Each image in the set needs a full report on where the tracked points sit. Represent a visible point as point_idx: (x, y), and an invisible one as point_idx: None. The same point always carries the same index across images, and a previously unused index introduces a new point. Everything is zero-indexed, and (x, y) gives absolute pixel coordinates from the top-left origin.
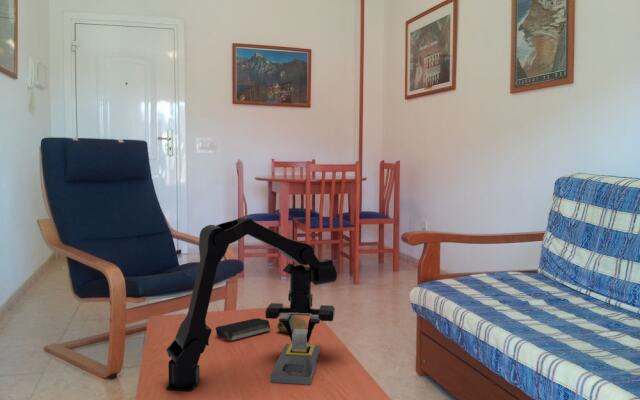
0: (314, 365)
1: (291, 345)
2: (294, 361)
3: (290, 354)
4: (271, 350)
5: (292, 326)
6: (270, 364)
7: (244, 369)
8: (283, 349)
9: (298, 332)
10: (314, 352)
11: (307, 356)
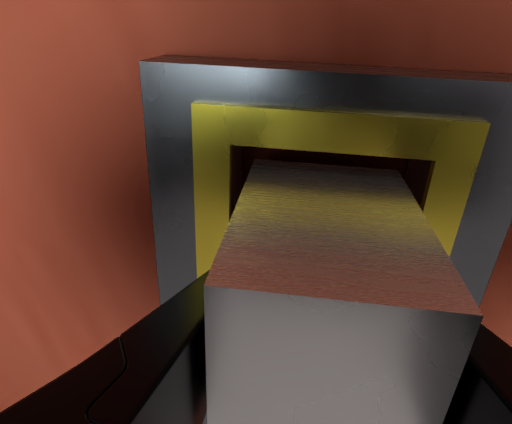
0: None
1: (214, 143)
2: None
3: None
4: (38, 65)
5: (162, 421)
6: (127, 312)
7: (13, 362)
8: (156, 215)
9: (293, 419)
10: None
11: None
